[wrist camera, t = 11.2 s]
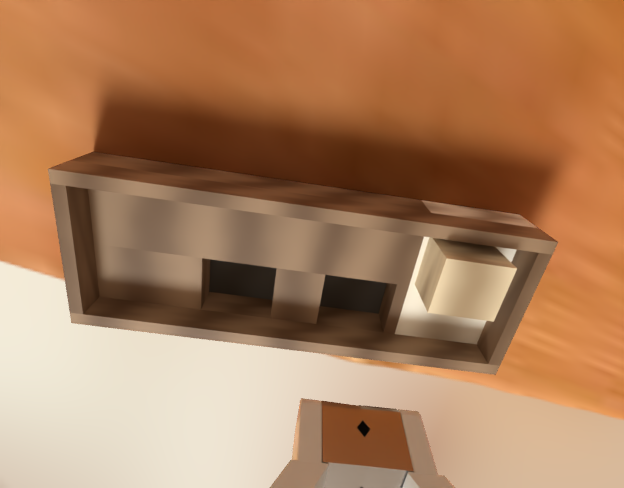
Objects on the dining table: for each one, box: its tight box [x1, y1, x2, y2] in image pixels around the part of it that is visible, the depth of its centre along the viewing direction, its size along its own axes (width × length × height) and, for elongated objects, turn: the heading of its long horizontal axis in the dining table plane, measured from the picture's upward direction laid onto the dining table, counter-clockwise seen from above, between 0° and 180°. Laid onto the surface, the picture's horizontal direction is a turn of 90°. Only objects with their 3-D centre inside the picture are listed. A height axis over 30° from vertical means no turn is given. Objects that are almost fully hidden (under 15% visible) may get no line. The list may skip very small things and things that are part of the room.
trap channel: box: [48, 152, 558, 375], centre depth 31 cm, size 35×12×6 cm, turn 82°
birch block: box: [415, 237, 517, 322], centre depth 28 cm, size 5×4×4 cm
